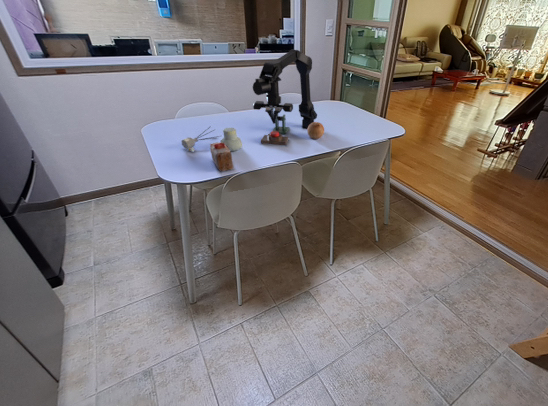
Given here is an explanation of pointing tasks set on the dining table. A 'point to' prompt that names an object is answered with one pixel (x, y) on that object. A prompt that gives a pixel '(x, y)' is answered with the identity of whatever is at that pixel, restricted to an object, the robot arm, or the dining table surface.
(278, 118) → the switch lever
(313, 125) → the onion
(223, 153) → the food item
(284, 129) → the switch bracket
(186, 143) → the reed diffuser
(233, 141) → the air freshener
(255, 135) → the dining table surface
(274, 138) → the button box
